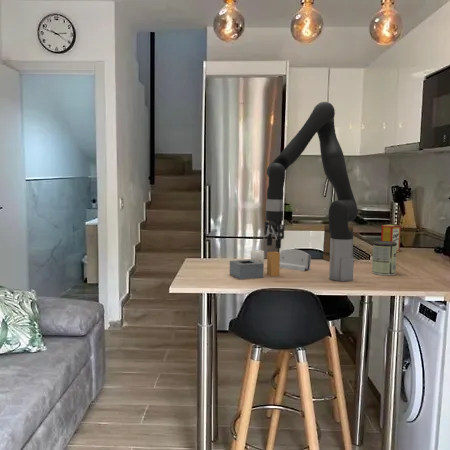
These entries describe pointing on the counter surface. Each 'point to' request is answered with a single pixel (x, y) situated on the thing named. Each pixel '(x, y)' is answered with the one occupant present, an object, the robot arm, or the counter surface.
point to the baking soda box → (391, 234)
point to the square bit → (273, 263)
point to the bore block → (246, 269)
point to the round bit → (257, 255)
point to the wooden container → (327, 241)
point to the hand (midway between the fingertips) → (273, 246)
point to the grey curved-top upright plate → (295, 260)
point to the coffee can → (384, 258)
